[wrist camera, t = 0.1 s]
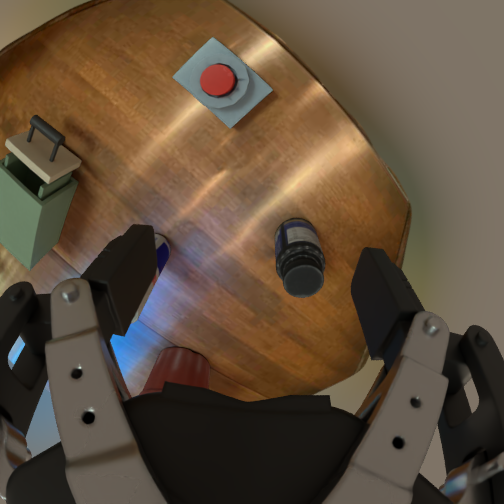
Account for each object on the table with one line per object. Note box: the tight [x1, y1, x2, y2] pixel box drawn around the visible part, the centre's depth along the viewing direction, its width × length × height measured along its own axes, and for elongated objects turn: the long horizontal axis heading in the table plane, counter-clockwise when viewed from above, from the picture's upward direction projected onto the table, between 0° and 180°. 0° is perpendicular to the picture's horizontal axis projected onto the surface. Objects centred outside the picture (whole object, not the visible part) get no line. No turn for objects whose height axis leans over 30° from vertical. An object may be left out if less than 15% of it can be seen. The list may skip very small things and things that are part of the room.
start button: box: [200, 64, 235, 95], centre depth 25 cm, size 4×4×2 cm
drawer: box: [4, 115, 82, 201], centre depth 31 cm, size 18×11×8 cm, turn 140°
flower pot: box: [139, 347, 210, 395], centre depth 52 cm, size 16×16×16 cm
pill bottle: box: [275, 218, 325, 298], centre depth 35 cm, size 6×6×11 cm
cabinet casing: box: [0, 158, 79, 271], centre depth 34 cm, size 15×13×10 cm
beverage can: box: [131, 234, 171, 323], centre depth 36 cm, size 5×5×15 cm
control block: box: [173, 37, 273, 129], centre depth 27 cm, size 10×7×4 cm
